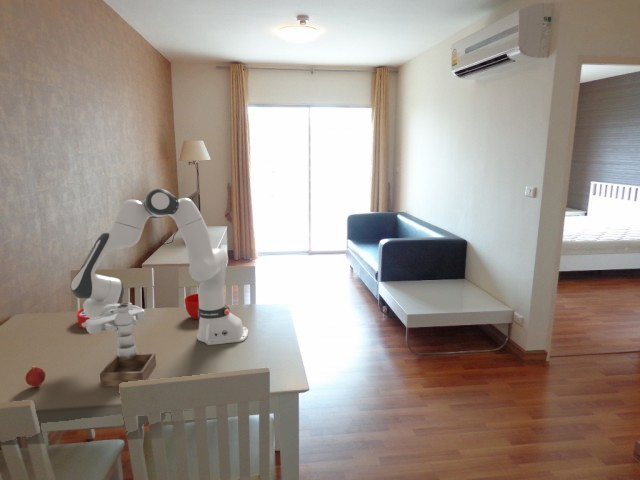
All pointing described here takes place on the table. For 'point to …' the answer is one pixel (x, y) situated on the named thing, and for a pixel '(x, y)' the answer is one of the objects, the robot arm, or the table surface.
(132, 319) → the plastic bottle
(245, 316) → the table surface
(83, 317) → the toy clock
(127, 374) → the box
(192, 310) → the ceramic cup
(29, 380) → the red pomegranate
